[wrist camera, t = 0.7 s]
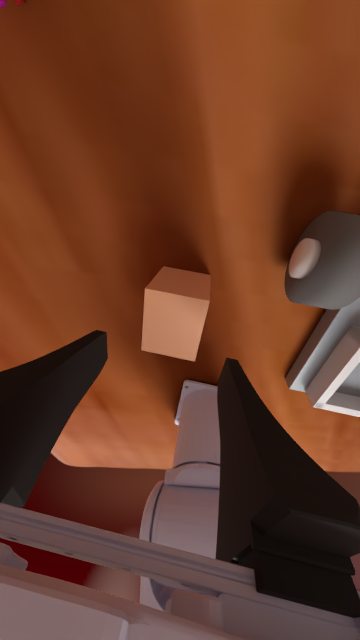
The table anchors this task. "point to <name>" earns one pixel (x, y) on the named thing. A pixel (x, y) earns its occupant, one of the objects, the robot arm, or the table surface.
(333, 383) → the chassis
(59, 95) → the table surface
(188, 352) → the tan rectangular block
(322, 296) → the wheel
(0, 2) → the glasses
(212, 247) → the table surface
